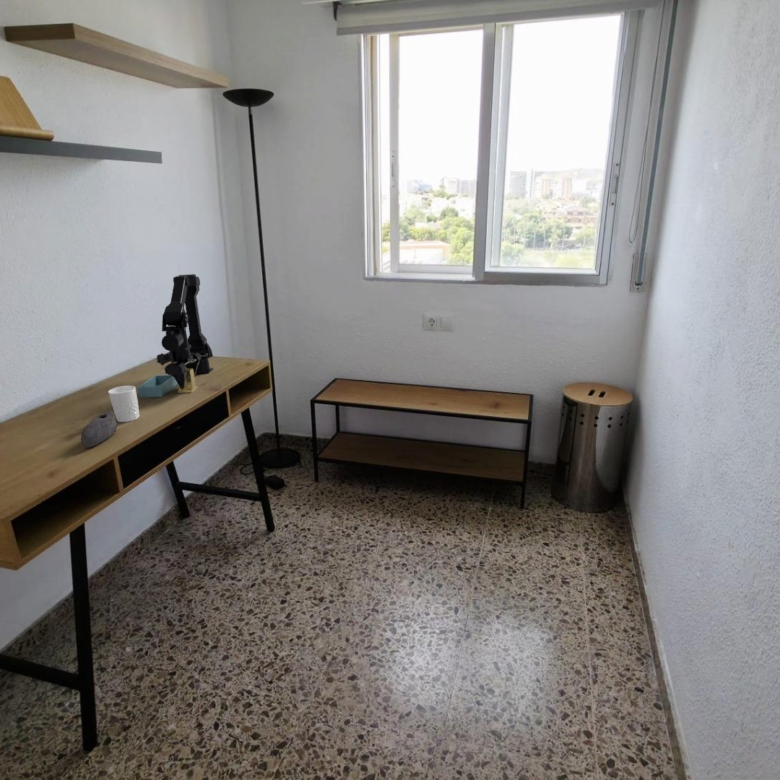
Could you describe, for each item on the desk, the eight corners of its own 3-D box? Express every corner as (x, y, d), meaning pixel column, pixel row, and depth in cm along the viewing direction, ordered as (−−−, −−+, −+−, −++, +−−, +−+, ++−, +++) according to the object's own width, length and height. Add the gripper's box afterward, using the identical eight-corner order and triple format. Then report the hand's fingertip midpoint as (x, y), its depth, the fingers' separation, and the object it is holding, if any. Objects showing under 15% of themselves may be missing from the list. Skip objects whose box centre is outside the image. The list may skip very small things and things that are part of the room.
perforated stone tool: (93, 452, 147) (87, 429, 145) (75, 452, 148) (69, 429, 146) (124, 430, 162) (119, 409, 159) (108, 430, 162) (103, 409, 160)
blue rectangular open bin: (157, 385, 203) (155, 375, 202) (178, 384, 203) (176, 374, 202) (139, 397, 190) (137, 387, 189) (161, 397, 190) (159, 386, 188)
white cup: (131, 423, 167) (124, 393, 163) (109, 422, 168) (102, 393, 165) (146, 414, 174) (140, 385, 171) (125, 413, 175) (119, 385, 172)
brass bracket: (185, 387, 199) (181, 367, 196) (198, 387, 199) (194, 367, 196) (178, 393, 193) (174, 372, 191) (191, 392, 193) (188, 371, 190)
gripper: (169, 338, 199) (176, 377, 205) (146, 351, 182) (154, 394, 187) (198, 337, 199) (204, 376, 204) (177, 350, 181) (185, 393, 186)
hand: (187, 384), depth 195 cm, fingers open, 9 cm apart
